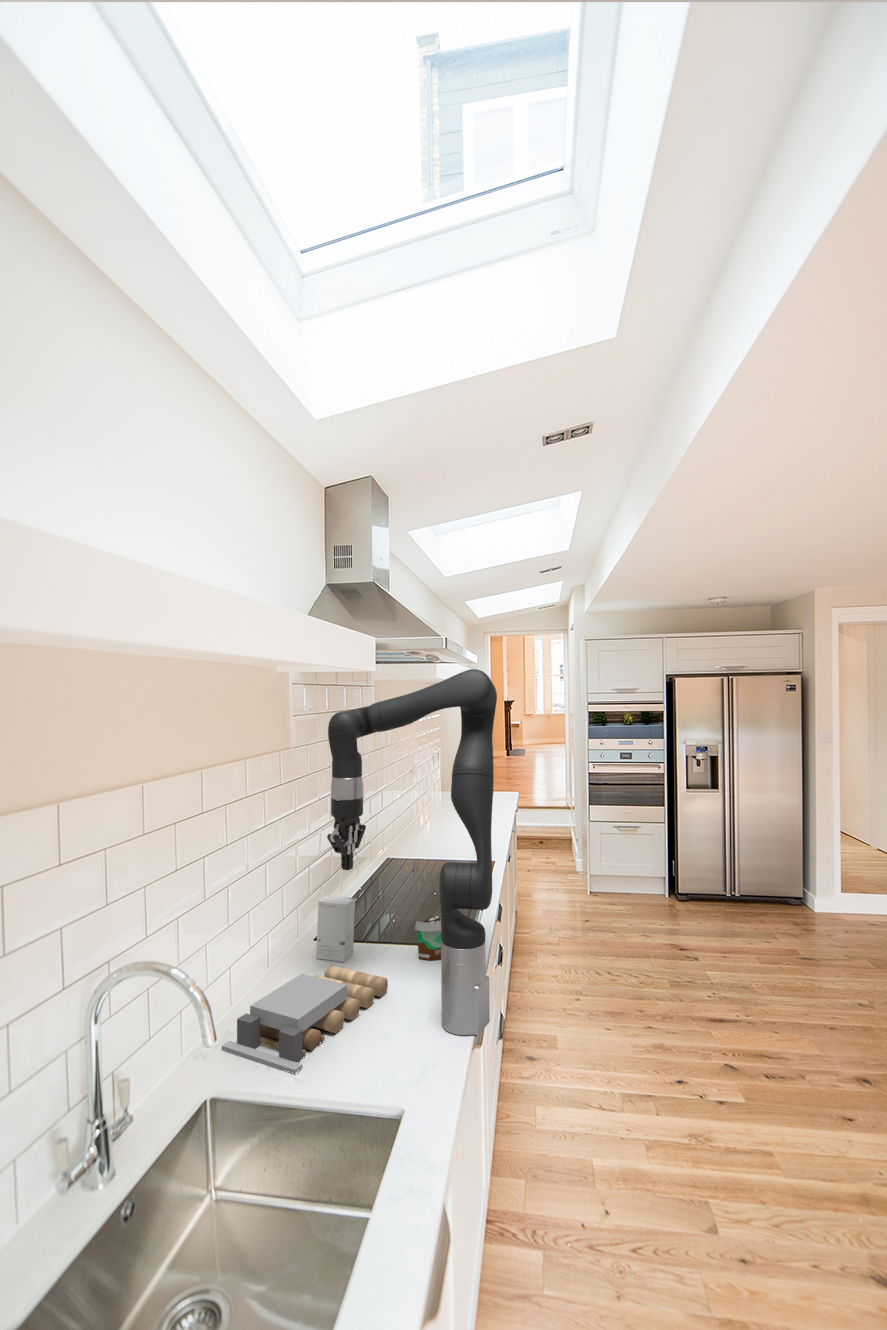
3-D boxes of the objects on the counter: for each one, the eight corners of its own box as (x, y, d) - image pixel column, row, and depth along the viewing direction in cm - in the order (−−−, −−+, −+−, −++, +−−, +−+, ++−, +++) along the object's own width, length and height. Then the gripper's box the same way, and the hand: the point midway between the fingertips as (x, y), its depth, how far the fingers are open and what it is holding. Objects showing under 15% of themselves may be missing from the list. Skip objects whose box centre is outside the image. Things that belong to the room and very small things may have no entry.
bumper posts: (310, 1061, 125) (310, 1032, 125) (295, 1074, 121) (295, 1044, 121) (238, 1038, 133) (238, 1010, 134) (221, 1050, 129) (221, 1021, 130)
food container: (434, 967, 166) (434, 927, 166) (415, 961, 170) (415, 921, 170) (463, 951, 176) (462, 913, 176) (444, 945, 179) (444, 908, 180)
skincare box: (315, 959, 171) (315, 901, 171) (326, 950, 177) (326, 893, 177) (346, 963, 169) (345, 903, 169) (355, 953, 175) (355, 896, 175)
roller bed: (387, 992, 153) (387, 974, 153) (305, 1059, 126) (305, 1037, 126) (334, 979, 160) (334, 962, 160) (245, 1040, 133) (245, 1019, 133)
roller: (252, 1035, 134) (255, 1015, 135) (264, 1032, 137) (267, 1012, 138) (308, 1052, 128) (311, 1032, 129) (319, 1048, 131) (322, 1028, 132)
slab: (346, 998, 141) (346, 984, 141) (298, 1035, 127) (298, 1019, 127) (301, 987, 146) (301, 973, 147) (250, 1020, 132) (250, 1005, 132)
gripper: (350, 790, 165) (350, 860, 165) (316, 798, 153) (316, 874, 153) (375, 792, 162) (375, 864, 161) (343, 801, 150) (344, 879, 150)
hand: (347, 869), depth 157 cm, fingers closed
